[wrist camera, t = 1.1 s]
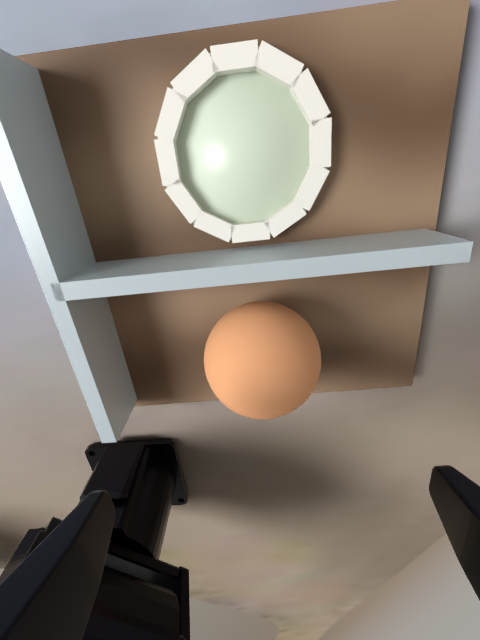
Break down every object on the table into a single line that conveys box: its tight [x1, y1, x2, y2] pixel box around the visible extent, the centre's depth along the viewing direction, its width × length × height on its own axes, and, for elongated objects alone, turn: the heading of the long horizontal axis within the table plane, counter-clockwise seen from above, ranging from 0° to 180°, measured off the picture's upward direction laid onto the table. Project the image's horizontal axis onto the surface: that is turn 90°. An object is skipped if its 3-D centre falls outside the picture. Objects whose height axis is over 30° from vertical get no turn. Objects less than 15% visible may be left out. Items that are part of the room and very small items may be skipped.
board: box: [0, 0, 474, 443], centre depth 15 cm, size 18×18×4 cm
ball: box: [204, 301, 321, 419], centre depth 15 cm, size 6×6×6 cm
